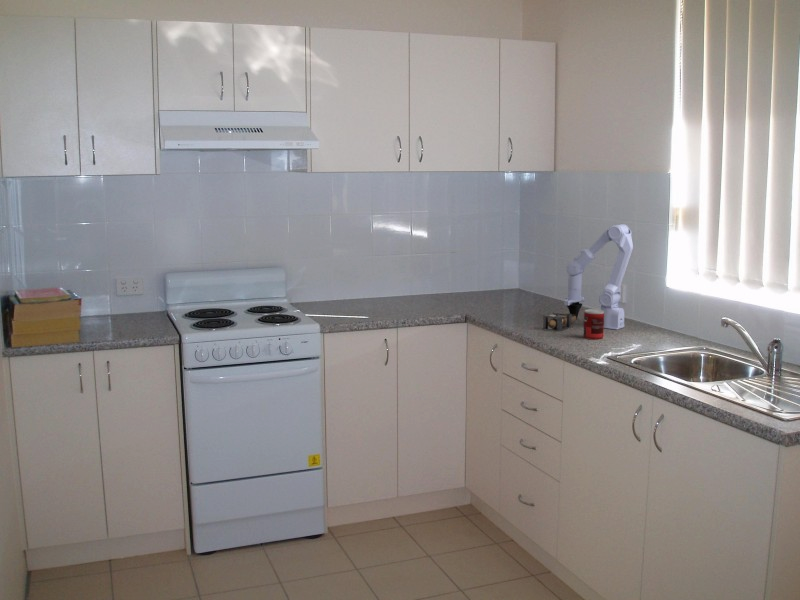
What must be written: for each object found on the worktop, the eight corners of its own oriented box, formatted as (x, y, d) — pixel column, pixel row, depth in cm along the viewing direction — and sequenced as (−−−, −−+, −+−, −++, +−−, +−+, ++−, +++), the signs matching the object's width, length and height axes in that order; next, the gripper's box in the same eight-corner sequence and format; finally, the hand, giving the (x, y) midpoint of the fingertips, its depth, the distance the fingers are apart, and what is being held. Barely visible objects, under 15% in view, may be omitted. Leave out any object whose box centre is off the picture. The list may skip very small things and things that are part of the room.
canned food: (588, 334, 338) (589, 308, 336) (606, 337, 333) (607, 310, 331) (580, 337, 332) (580, 311, 331) (598, 340, 327) (599, 313, 326)
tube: (576, 322, 361) (576, 313, 360) (555, 329, 347) (555, 320, 347) (568, 321, 363) (568, 313, 363) (547, 328, 350) (547, 318, 349)
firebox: (572, 327, 354) (572, 312, 353) (558, 331, 345) (558, 316, 344) (556, 325, 359) (556, 310, 358) (541, 329, 350) (542, 314, 349)
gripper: (574, 286, 369) (573, 316, 371) (558, 290, 358) (557, 320, 360) (589, 287, 364) (588, 318, 367) (572, 291, 353) (572, 322, 356)
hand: (574, 319), depth 363 cm, fingers closed
